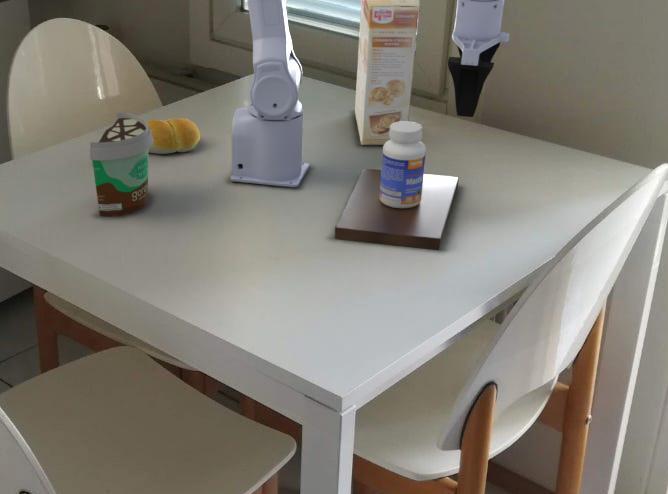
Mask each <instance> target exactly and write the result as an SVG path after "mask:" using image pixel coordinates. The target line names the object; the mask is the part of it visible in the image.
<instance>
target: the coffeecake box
mask: <svg viewBox="0 0 668 494" xmlns="http://www.w3.org/2000/svg"><path fill="white" fill-rule="evenodd" d="M360 2H361V3H360V17H359V18H360V19H359V35H358V50H357V69H356V70H357V71H356V87H355V105H354V115H355V121H356V125H357V131H358V135H359V140H360V141H359V142H360V145H361V146H384V144H385V143H386V142H387V141H389V140H391V138H390V137H389V131H390V125H391V124H392V123H395V122H399V121H410V113H411V112H410V111H411V102H412V101H411V100H412V88H413V79H414V66H415V56H416V55H415V54H416V43H417V41H416V40H417V31H418V21H419V11H420V4H419V2H418V0H361V1H360Z"/></svg>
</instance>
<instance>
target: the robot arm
mask: <svg viewBox="0 0 668 494" xmlns="http://www.w3.org/2000/svg"><path fill="white" fill-rule="evenodd" d="M504 6H505V0H457V3H456V12H455V20H454V29H453V30H452V35H451V38H452V41H453V43H455V44H456V47H457V50H458V54H459V56H449V57H448V60H447V67H448V70H449V73H450V75H451V79H452V83H453V88H454V100H455V111H456V116H457V117H467V118H474V115H475V113H476V110H477V107H478V104H479V100H480V97H481V94H482V90H483V88H484V84H485V82H486V81H487V78H488V76H489V75H490V73H491V71H492V70H493V68H494V65H495V62H492V60H493V58H494V56H495V54H496V53H497V51H498V49H499V48H500V45H501V43H508V42H509V40H510V33H509V32H503V31H501V30H502V29H501V28H502V20H503V13H504ZM247 7H248V14H249V22H250V29H251V36H252V68H253V79H252V81H251V84H250V87H249V88H250V89H249V100H250V104H249V107H238V108H236V109H235V112H234V115H233V118H232V122H231V134H230V138H231V139H230V141H231V142H230V143H231V145H230V146H231V176H230V181H231V182H236V183H237V182H238V183H247V184H248V183H249V184H256V185H257V184H258V185H266V186H274V187H275V186H276V187H284V188H285V187H286V188H298V187H299V185H300V184H301V182H302V180H303V179H304V178H305V175H306V174H307V172H308V170H309V169H310V163H308V162H303V134H304V133H303V132H304V129H303V128H304V106H303V104H302V103H301V102H300V101H299V89H300V86H301V83H302V80H303V67H302V64H301V63H300V60H299V59H298V58H297V57H296V54H295V52H294V49H293V48H294V47H293V41H292V36H291V33H290V29H289V22H288V12H287V5H286V0H247Z"/></svg>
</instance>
